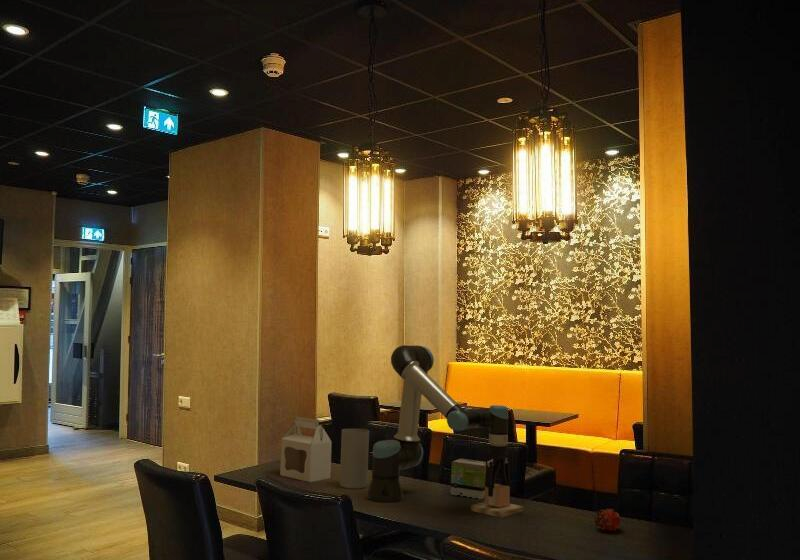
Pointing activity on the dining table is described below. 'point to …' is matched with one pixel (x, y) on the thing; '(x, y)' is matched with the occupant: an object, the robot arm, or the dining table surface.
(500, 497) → the terracotta cube
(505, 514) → the birch board
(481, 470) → the tea box
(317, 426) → the gable box
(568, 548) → the dining table surface
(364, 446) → the cylinder vase
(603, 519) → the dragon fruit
